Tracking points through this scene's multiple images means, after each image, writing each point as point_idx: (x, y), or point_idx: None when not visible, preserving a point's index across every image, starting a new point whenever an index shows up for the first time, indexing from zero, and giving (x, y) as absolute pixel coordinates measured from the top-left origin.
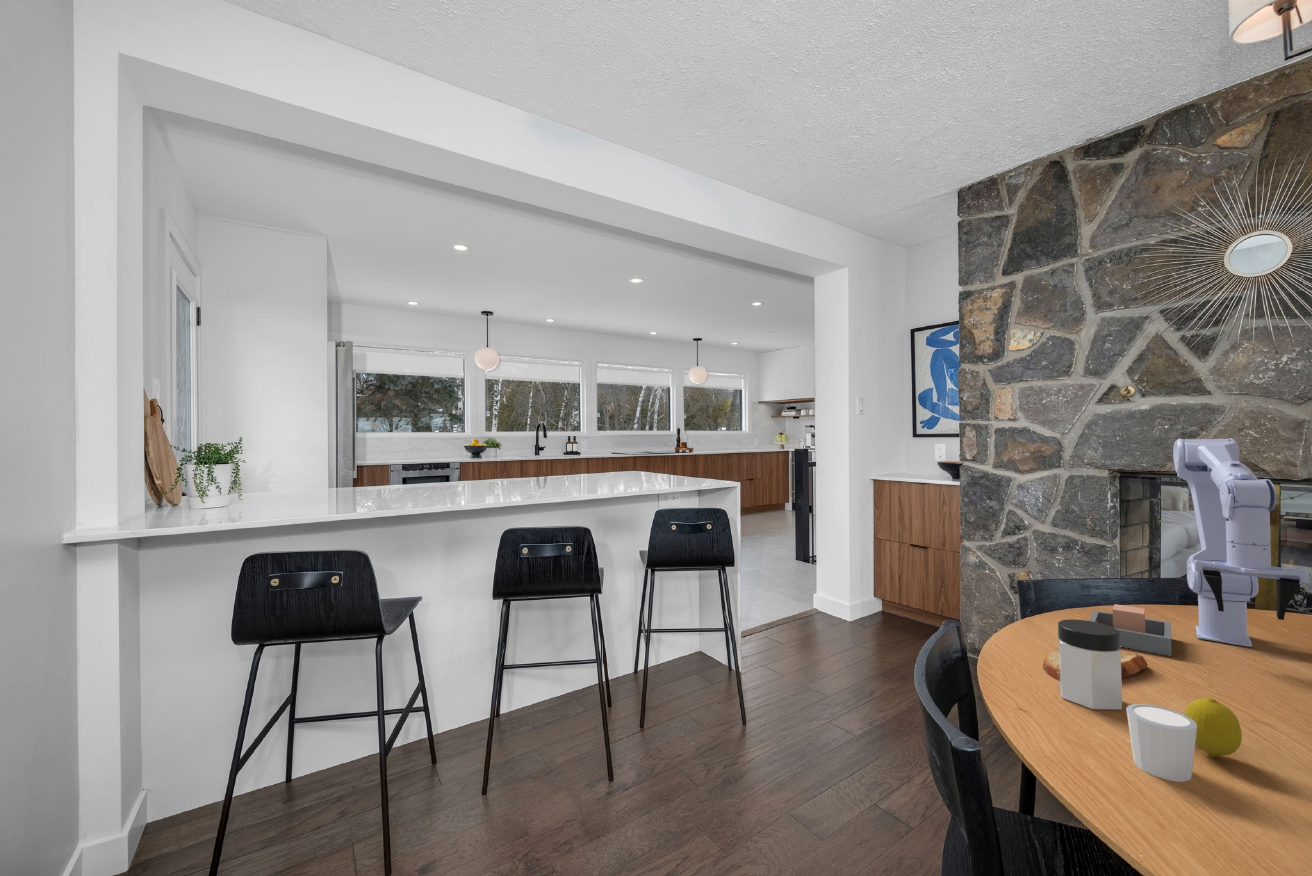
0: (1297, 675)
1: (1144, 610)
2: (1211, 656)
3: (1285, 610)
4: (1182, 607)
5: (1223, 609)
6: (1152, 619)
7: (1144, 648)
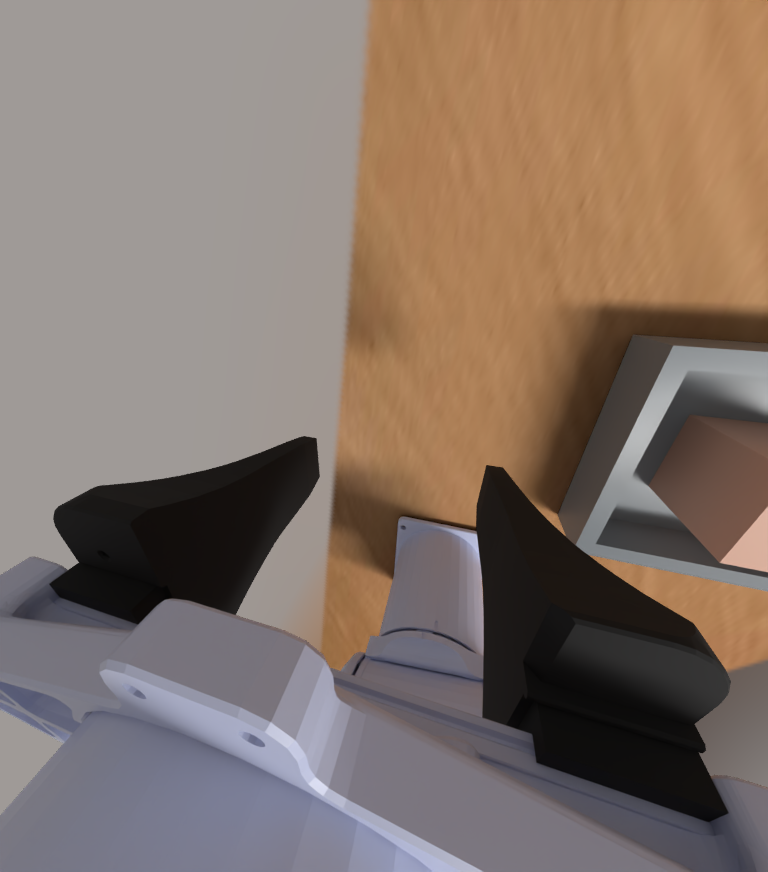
0: (348, 362)
1: (742, 535)
2: (501, 409)
3: (271, 448)
4: None
5: (488, 468)
6: (623, 561)
7: (729, 342)
